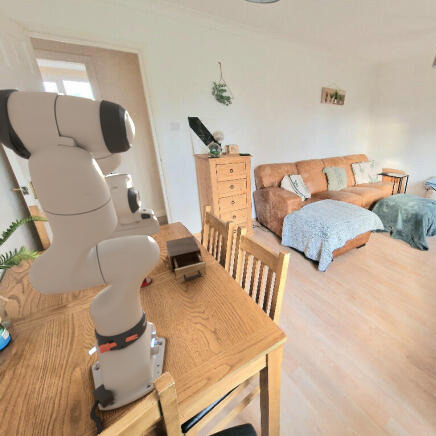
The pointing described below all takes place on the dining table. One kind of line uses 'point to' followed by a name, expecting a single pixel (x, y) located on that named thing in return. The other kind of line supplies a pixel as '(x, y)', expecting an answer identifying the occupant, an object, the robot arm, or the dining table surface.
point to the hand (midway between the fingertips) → (135, 246)
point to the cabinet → (181, 248)
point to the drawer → (188, 267)
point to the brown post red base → (146, 282)
